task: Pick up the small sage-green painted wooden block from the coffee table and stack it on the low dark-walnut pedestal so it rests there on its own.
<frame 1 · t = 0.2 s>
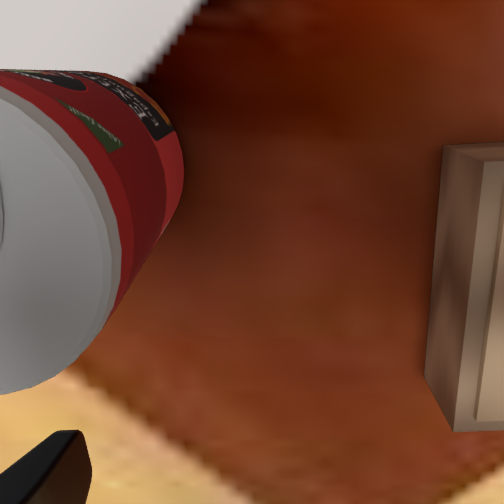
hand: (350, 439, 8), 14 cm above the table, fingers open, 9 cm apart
canned food: (103, 165, 21), on the table
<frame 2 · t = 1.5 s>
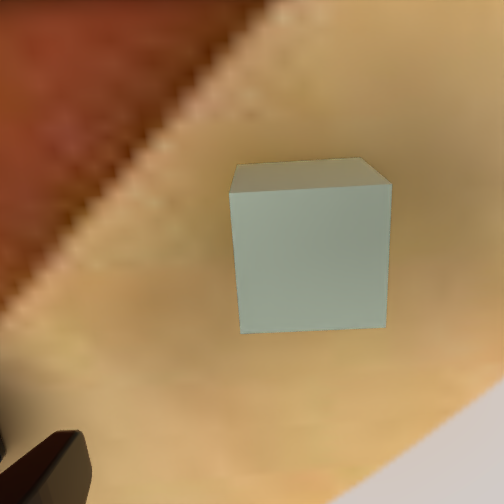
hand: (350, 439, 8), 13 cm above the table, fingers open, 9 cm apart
sage block: (299, 219, 20), on the table
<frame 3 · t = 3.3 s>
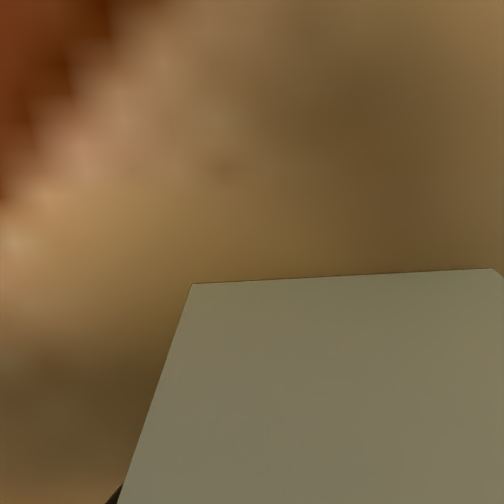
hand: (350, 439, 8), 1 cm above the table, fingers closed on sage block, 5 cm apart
sage block: (340, 398, 9), on the table, touching gripper
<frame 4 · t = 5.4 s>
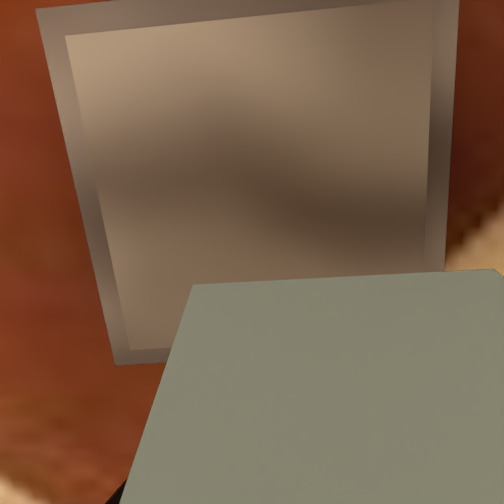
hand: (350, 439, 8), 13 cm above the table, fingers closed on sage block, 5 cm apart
pedestal: (261, 173, 19), on the table
sage block: (341, 399, 9), point 12 cm above the table, touching gripper
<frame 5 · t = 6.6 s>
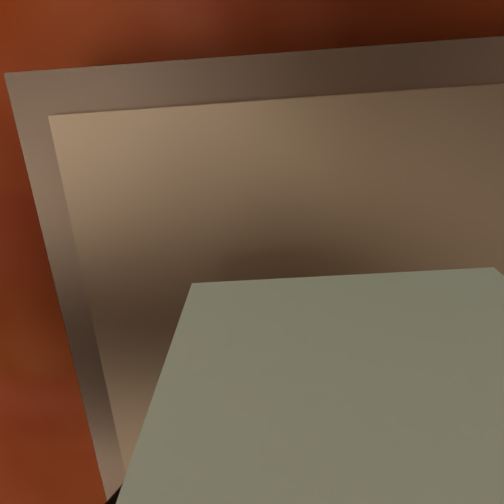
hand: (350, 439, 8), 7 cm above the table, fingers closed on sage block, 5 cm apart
pedestal: (311, 267, 14), on the table
sage block: (340, 398, 9), point 6 cm above the table, touching gripper
when the fingers open (6 cm above the table, at t = 7.5 s): sage block drops 1 cm, resting on pedestal.
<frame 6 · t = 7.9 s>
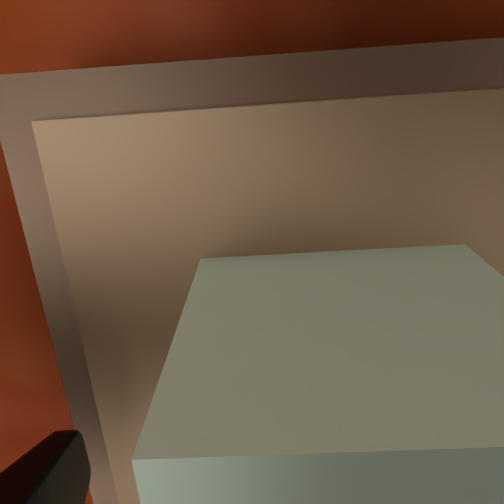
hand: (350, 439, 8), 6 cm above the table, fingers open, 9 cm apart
pedestal: (312, 277, 14), on the table
sage block: (331, 362, 10), point 4 cm above the table, touching pedestal
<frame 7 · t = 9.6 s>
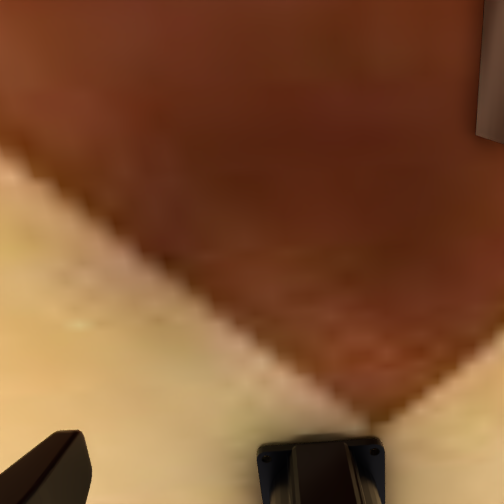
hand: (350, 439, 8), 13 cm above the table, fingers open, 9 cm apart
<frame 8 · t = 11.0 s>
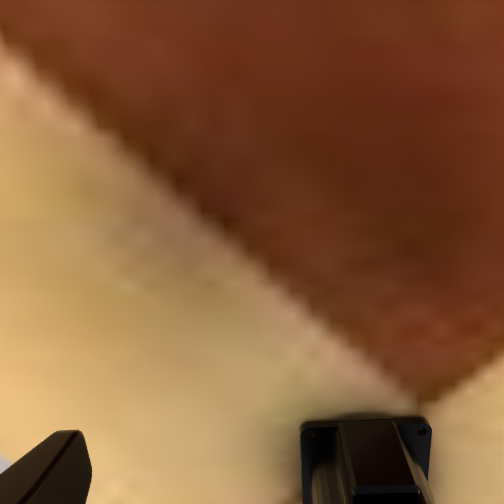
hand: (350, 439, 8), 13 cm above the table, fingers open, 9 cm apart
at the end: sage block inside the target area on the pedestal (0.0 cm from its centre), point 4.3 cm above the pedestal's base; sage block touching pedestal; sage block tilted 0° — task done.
